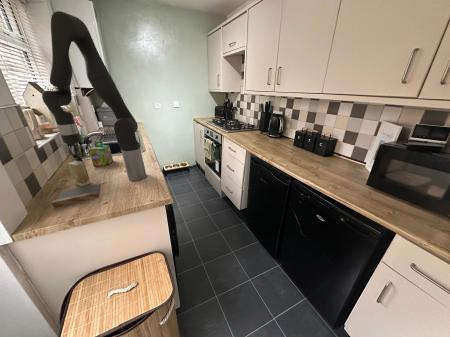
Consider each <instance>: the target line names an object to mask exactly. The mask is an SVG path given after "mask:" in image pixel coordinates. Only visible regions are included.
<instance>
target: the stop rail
mask: <svg viewBox="0 0 450 337" xmlns="http://www.w3.org/2000/svg"><path fill="white" fill-rule="evenodd" d="M97 198H99V195H98V193H97V191H96V192H91V193H87V194H82V195H77V196H73V197H68V198H63V199H59V200H57V199H54V200H52V202H51V203H52V206H53V208H57V207H61V206H66V205H70V204H74V203H80V202H84V201H87V200H91V199H92V200H93V199H97Z"/></svg>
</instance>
